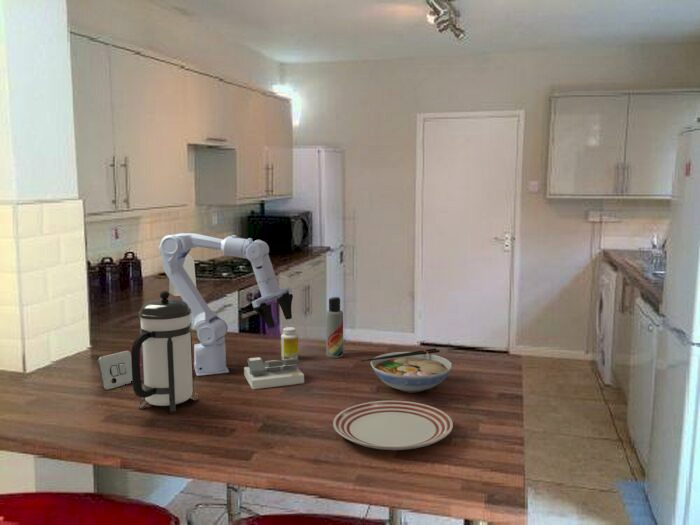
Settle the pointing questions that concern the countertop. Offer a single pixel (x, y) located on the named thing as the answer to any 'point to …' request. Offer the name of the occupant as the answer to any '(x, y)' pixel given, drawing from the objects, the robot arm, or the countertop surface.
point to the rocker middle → (273, 363)
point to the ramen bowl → (411, 369)
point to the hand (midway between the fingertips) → (280, 323)
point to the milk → (190, 271)
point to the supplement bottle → (289, 343)
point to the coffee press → (164, 353)
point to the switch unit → (275, 377)
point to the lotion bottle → (334, 329)
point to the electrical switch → (115, 369)
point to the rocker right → (290, 361)
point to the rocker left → (256, 366)
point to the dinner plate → (393, 425)
